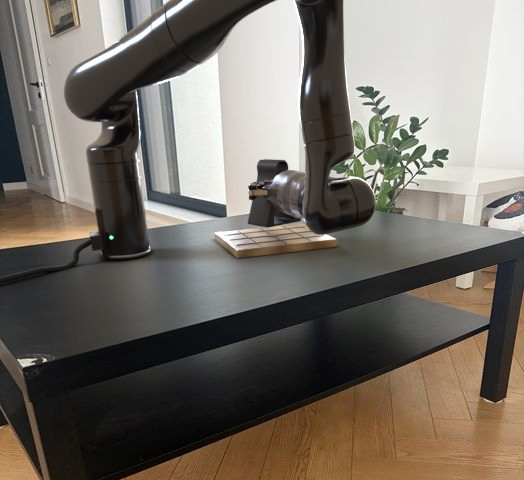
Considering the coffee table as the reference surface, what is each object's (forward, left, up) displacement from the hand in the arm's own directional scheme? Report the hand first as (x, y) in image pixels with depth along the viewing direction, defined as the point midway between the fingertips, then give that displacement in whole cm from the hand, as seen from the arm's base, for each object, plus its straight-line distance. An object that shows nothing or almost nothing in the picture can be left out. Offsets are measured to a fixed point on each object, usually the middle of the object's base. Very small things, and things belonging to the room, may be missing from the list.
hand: (266, 185), depth 110 cm
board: (0, -3, -11) cm, 11 cm away
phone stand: (0, -3, -7) cm, 8 cm away
